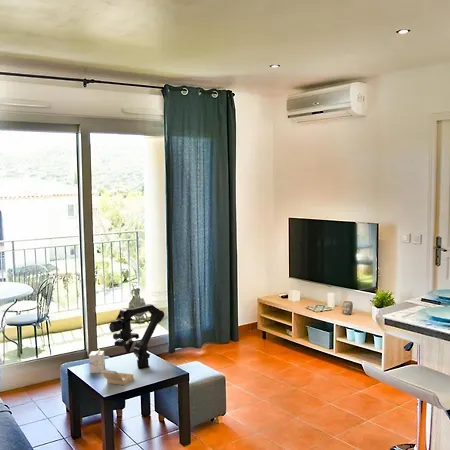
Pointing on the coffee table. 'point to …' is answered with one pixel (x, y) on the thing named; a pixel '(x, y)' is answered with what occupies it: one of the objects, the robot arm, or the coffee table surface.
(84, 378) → the coffee table surface
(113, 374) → the lid
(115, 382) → the mailer
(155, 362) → the coffee table surface
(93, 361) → the ink box
